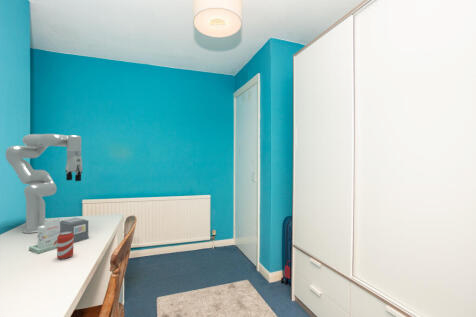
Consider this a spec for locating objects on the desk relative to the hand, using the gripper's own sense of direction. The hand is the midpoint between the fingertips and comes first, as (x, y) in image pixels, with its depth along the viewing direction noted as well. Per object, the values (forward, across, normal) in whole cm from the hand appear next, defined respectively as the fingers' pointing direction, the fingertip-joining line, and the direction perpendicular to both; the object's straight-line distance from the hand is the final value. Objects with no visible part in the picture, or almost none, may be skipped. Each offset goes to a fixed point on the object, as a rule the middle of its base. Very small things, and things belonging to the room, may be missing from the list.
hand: (73, 180), depth 147 cm
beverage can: (+34, -35, +22) cm, 54 cm away
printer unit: (+34, -12, +6) cm, 37 cm away
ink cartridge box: (+34, -13, +19) cm, 41 cm away
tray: (+34, -14, +19) cm, 42 cm away
